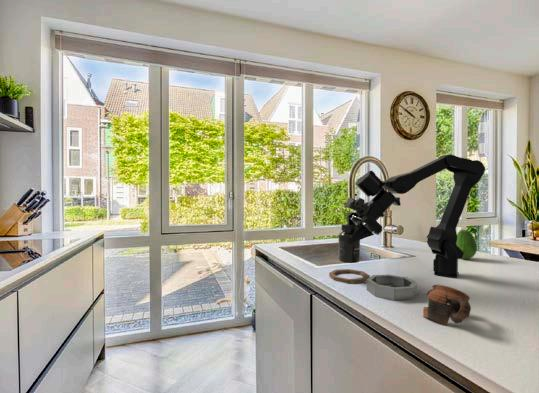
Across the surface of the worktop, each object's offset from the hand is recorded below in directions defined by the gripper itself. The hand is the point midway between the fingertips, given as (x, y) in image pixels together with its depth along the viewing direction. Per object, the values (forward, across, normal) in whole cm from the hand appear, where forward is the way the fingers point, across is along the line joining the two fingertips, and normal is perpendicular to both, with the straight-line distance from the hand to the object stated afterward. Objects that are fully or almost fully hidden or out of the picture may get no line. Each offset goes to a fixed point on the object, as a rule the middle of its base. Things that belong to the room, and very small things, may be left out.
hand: (344, 240), depth 98 cm
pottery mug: (0, +32, +18) cm, 37 cm away
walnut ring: (+8, 0, +9) cm, 12 cm away
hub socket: (+2, +14, +15) cm, 21 cm away
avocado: (-30, -20, +49) cm, 61 cm away
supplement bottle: (+4, 0, +6) cm, 7 cm away
